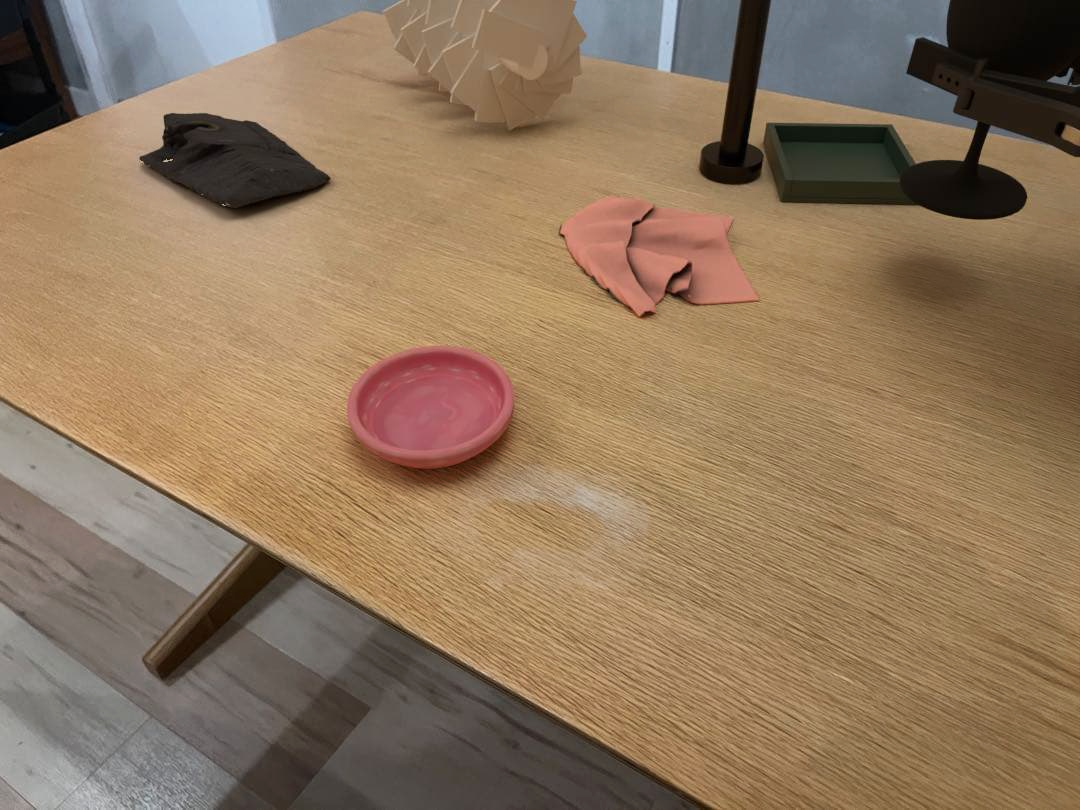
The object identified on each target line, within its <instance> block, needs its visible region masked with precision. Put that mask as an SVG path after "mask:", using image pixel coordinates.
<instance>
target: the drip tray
mask: <svg viewBox="0 0 1080 810" xmlns="http://www.w3.org/2000/svg"><path fill="white" fill-rule="evenodd" d="M764 129H765V130H764V134H763V141H762V144H763V147H764V151H765V154H766V158H767V160H768V161H767V162H768V164H769V167H770V171H771V175H772V177H773V179H774V184H775V187H776V189H777V193H778V196H779V200H780V202H781V203H815V204H816V203H823V204H868V205H912V206H913V205H915V206H917V205H918V204H916V203H914V202H913V201H911V200H910V199H909V198H908V197H907V196H906V195H905V194H904V193H903V192H902V190H901V188H900V185H899V182H900V177H901V175H902V173H903V172H904V171H905V170H906V169H907V168H909V167H911V166H913V165H915V164H917V163H916V161H915V160H914V158H913V157H912V155H911V153H910V152H909V150H908V148H907V147H906V145H905V143H904V141H903V140H902V139H901V137H900V135H899V134H898V131H897V130H896V129H895V127H894V125H893V124H892V123H891V124H889V123H888V124H887V123H886V124H883V123H879V124H878V123H874V124H873V123H824V122H823V123H822V122H819V123H818V122H813V123H812V122H766V124H765V128H764ZM918 206H919V205H918Z"/></svg>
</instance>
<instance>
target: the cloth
mask: <svg viewBox="0 0 1080 810" xmlns="http://www.w3.org/2000/svg"><path fill="white" fill-rule="evenodd" d="M733 221H734V217H729V216H723V215H716V214H710V213H704V212H697V211H690V210H684V209H677V208H670V207H662V206H656V205H655V204H654V203H651V202H650V201H647V200H643V199H638V198H634V197H627V198H624V197H620V195H607V196H605V197H602V198H600V199H599V200H597V201H593V202H591V203H590V204H588V205H587V206H586V207H584V208H581V209H580V210H578V211H576V212H575V213H574V214H573V215H572V216H571V217H570V218H568V219H567V220H565V221H564V222H563V223H561V224H560V226H559V230H558V234H560V235H563V236H564V239H565V243H566V246H567V249H568V251H569V253H570V255H571V256H572V257H573V258H574V260H575V262H576V263H577V264H578V266H580V267H581V268H583V270H584V271H585V273H586V274H587V275H588V276H589V277H591V279H594V280H595V282H596V283H597V285H599V287H600V288H602V289H604V290H605V291H606V292H609V293H611V294H612V295H613V296H614V298H615V299H616V300H618V301H619V302H620V303H621V304H623V305H625V306H627V307H629V308H631V309H632V310H633V311H634V313H635V314H636V315H637V316H638V317H641V316H643V315H645V314H646V313H647V312H652V313H653V314H656V313H657V308H656V305H657V304H658V303H660V302H661V300H662V299H663V298H664V297H665V293H666V291H667V292H669V293H670V294H674V295H677V296H680V297H681V298H682V299H684V300H685V301H688V302H690V303H692V304H696V305H720V304H721V305H722V304H731V303H732V304H733V303H734V304H735V303H747V302H760V298H759V296H758V295H757V293H756V291H755V289H754V287H753V286H752V284H751V282H750V281H749V279H748V277H747V275H746V274H745V272H744V271H743V269H742V267H741V266H740V264H739V263H738V261H737V259H736V257H735V255H734V254H733V252H732V250H731V248H730V244H729V241H728V238H727V235H728V233H729V230H730V228H731V226H732V223H733Z"/></svg>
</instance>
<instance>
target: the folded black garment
mask: <svg viewBox="0 0 1080 810" xmlns="http://www.w3.org/2000/svg"><path fill="white" fill-rule="evenodd" d="M163 125H164V128H163V133H162V136H161V139H162V142H163V144H162V146H161V147H160V148H157V149H156V150H153V151H151V152H148V153H146V154H144V155H141V156H139V158H138V159H139V161H140V160H141V161H143V162H144V163H145V164H146V165H145V164H144V163H143V162H142V163H143V164H144V165H145V166H148V165H150V166H149V167H150V168H151V169H153V170H155V172H157V171H158V172H157V173H159V174H160V175H161V174H162V175H161V176H163V177H165V176H167V177H166V178H167V179H168V180H170V179H172V180H171V181H173V182H174V183H175V182H177V183H176V184H178V183H182V184H181V185H183V186H186V188H188V189H189V190H192V191H195V192H196V193H197V194H198V193H200V194H203V195H204V197H205V198H208V199H210V200H211V201H213V202H215V201H216V202H215V203H218V202H219V203H218V204H220V205H221V204H224V205H226V207H229V208H232V209H238V208H241V207H244V206H246V205H250V204H249V203H251V204H252V203H253V204H255V203H257V202H261V201H265V200H268V199H271V198H274V196H275V197H282V196H286V195H291V193H292V194H294V193H298V192H304V191H308V190H311V188H312V189H315V188H317V187H319V186H321V185H323V184H325V183H326V182H328V181H330V180H331V179H332V178H331V176H329V175H328V174H326V172H324V171H323V170H321V169H319V168H318V167H316V166H315V164H313V163H312V162H310V161H309V160H307V159H306V158H305V157H303V156H302V155H301V154H300V153H299V151H297V150H295V149H294V148H293V147H291V146H290V145H288V143H287V142H286V141H285V140H282V139H280V138H279V137H278V135H276V134H274V133H273V132H271V131H270V130H268V129H267V128H266V127H263V126H262V125H260V124H259V123H258V122H256V121H253V120H252V121H251V120H248V119H247V120H245V119H244V120H237V119H232V118H227V117H226V118H225V117H223V116H221V115H218V114H211V113H207V112H199V113H197V112H194V113H176V112H170V113H165V114H164V115H163ZM166 159H167V160H170V159H173V160H172V161H168V162H163V161H164V160H166ZM307 189H308V190H307ZM303 190H304V191H303ZM200 194H199V195H200ZM254 202H255V203H254Z"/></svg>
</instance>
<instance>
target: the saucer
mask: <svg viewBox="0 0 1080 810" xmlns="http://www.w3.org/2000/svg"><path fill="white" fill-rule="evenodd" d="M515 397H516V396H515V388H514V386H513V382H512V380H511V379H510V376H509V375H508V373H507V372H506V371H505V370H504V369H503V367H502V366H501V365H500V364H498V362H496V361H495V360H493V359H491V358H490V357H488V356H487V355H485V354H483V353H480V352H478V351H476V350H473V349H468V348H465V347H459V346H453V345H426V346H419V347H414V348H409V349H405V350H402V351H399V352H396V353H393V354H392V355H389V356H386V357H384V358H382V359H381V360H379V361H377V362H375V363H374V364H373V365H371V366H370V367H369V368H367V369H366V370H365V371H364V372H363V373H362V374H361V375H360V377H358V378H357V379H356V382H354V384H353V386H352V388H351V389H350V392H349V394H348V397H347V400H346V401H347V403H346V415H347V420H348V423H349V427H350V429H351V432H352V434H353V435H354V437H355V438H356V439H357V441H358V442H359V443H360V444H361V445H362V446H363V448H365V449H366V450H368V451H369V452H371V453H372V454H374V455H375V456H377V457H378V458H381V459H382V460H385V461H388V462H390V463H394V464H396V465H399V466H403V467H408V468H414V469H420V470H434V469H443V468H447V467H452V466H455V465H458V464H460V463H463V462H465V461H468V460H469V459H472V458H474V457H475V456H477V455H480V453H482V452H484V451H485V450H487V449H489V447H490V446H491V445H492V444H494V443H496V441H497V440H499V438H501V436H502V435H503V434H504V433H505V431H506V430H507V428H509V427H508V426H509V425H510V423H511V420H512V419H513V415H514V412H515V406H516V405H515V404H516V401H515V400H516V399H515Z"/></svg>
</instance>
